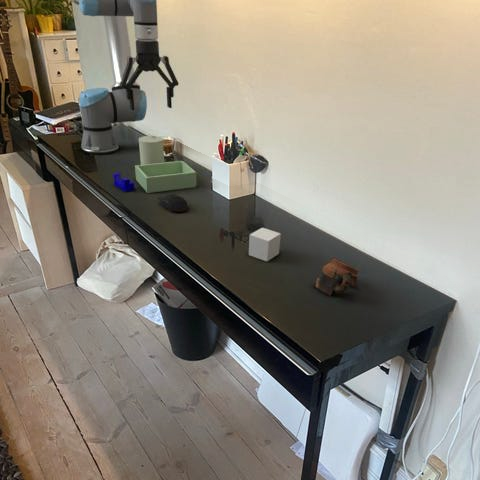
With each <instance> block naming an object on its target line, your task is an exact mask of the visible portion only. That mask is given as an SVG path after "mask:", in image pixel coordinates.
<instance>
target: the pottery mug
mask: <svg viewBox="0 0 480 480" xmlns="http://www.w3.org/2000/svg"><path fill="white" fill-rule="evenodd" d="M358 273H359V270H358V269H357V268H355V267H353V266H352V265H349V264H348V263H346V262H343V261H341V260H339V259H338V258H335V257H331V258H330V261H327V262H326V263H324V264H323V265H322V271H321V273H320V277H317V278H316V281H315V288H317V289H318V290H319V291H320V292H322V293H324V294H326V295H327V296H332V294H333V292H335V293H336V294H337V295H343V294H344V293H346V291H347V290H348V289H349V288H350V286H351V287H353V288H354V287H356V285H357V282H358V281H357V280H358ZM336 276H337V278H336Z"/></svg>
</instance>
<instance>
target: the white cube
mask: <svg viewBox="0 0 480 480" xmlns="http://www.w3.org/2000/svg"><path fill="white" fill-rule="evenodd" d="M281 236H282V234H281V233H280V232H277V231H274V230H271V229H268V228H265V227H261V228H259V229H257V230H255V231H253V232H252V233H250V234H249V238H248V239H249V241H248V244H249V245H248V256H250V257H253V258H256V259H258V260H262V261H264V262H269V261H271V260H272V259H273V258H275V257H276V256H278V255H279V254H280V247H281Z"/></svg>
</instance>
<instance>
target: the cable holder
mask: <svg viewBox="0 0 480 480" xmlns="http://www.w3.org/2000/svg"><path fill="white" fill-rule="evenodd" d="M112 175H113V183H114V186H115V187H117V188H118V189H120V190H121V191H122V192H125V193H127V192H131V191H135V182H133V181H130V180H131V179H130V178H128V177H126V178H122V174H121V173H120V172H117V173H113V174H112Z"/></svg>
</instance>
